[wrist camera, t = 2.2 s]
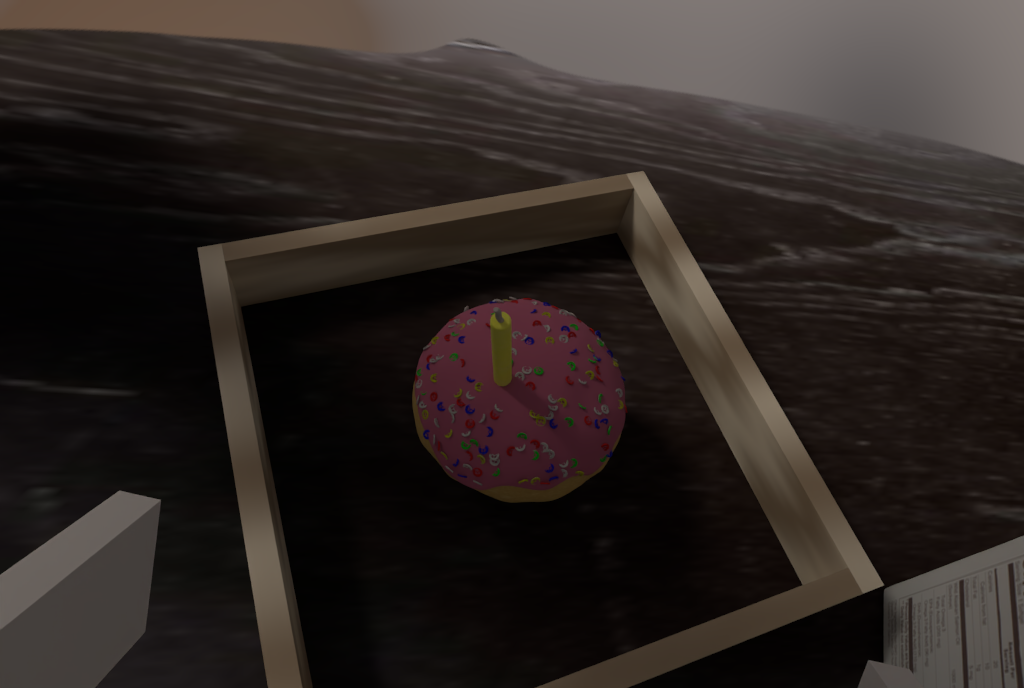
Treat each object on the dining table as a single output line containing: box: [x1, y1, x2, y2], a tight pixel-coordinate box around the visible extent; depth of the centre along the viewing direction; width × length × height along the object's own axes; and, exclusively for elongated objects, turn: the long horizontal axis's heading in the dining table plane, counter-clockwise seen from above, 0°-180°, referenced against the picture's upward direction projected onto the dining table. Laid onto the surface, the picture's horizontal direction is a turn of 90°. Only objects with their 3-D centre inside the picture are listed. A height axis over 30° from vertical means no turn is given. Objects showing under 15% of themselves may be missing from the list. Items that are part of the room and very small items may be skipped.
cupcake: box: [412, 297, 627, 503], centre depth 26 cm, size 9×8×12 cm
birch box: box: [197, 171, 884, 688], centre depth 30 cm, size 22×22×4 cm
